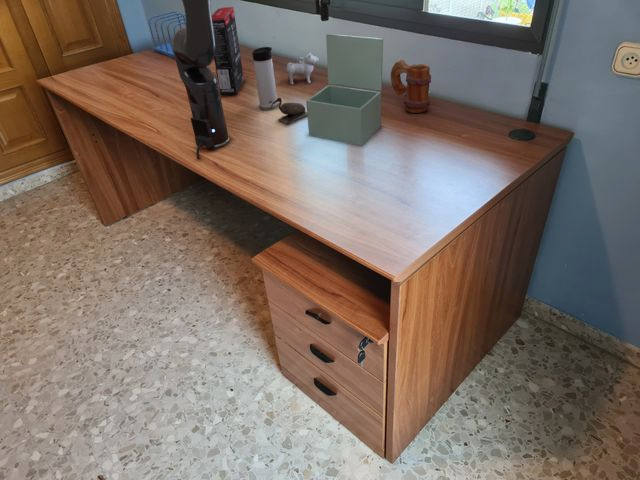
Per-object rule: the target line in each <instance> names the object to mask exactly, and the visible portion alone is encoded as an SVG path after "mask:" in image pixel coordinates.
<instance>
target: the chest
mask: <svg viewBox="0 0 640 480" xmlns="http://www.w3.org/2000/svg"><path fill="white" fill-rule="evenodd" d="M305 101H306V102H305V104H306V105H305V106H306V112H307V117H306V118H307V127H308V136H310V137H316V138H319V139H323V140H324V139H325V140H330V141H334V142H340V143H345V144H349V145H355V146H356V145H357V146H360V147H361V146H363V145H364V144H365V143H366V141H368V140H369V139H370V138H371V137H372V136H373V135H374V134H375V133H377V131H378V130H380V129H381V127H382V91H377V90H370V89H363V88H356V87H349V86H342V85H335V84H328V85H326V86H325V87H324V88H322V89H320V90H319V91H317V92H316V93H315V94H313V95H312V96H310V97H309V98H307V100H305Z"/></svg>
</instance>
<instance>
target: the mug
mask: <svg viewBox="0 0 640 480" xmlns="http://www.w3.org/2000/svg"><path fill="white" fill-rule="evenodd" d="M430 68H431V67H430V66H429V65H426V64H424V63H418V64H415V63H414V64H411V65H408V64H407V63H406V61H405V60H403V59H400V60H398V61H395V63H394V64H393V66H392V67H391V70H390V83H391V86H392V88H393V90H394V92H395V93H396V94H395V95H397V96H401V95H403V94H405V93H406V94H405V95H404V96H403V101H402V103H403V104H404V109H405V110H406V111H408V113H412V114H419V113H423V112H426V110H428V107H429V106H430V105H431V103H430V100H431V98H430V97H429V94H430V93H429V91H430V84H431V82H432V75H431V73H430V70H431V69H430ZM402 74H406V76H405V77H406V78H405V82H406V85H404V84H403V82H402V78H401V75H402Z"/></svg>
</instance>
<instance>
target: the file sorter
mask: <svg viewBox="0 0 640 480" xmlns="http://www.w3.org/2000/svg"><path fill="white" fill-rule="evenodd" d="M154 18H156V19H155V21H154V29H155V32H156V36H157V40H158V44H159V45H157V44H156V40H155V36H154V33H153V29H152V25H151V20H152V19H154ZM166 18H167V19H166ZM162 19H163V20H162ZM159 20H161V22H160V31H161V35H162V38H163V42H164V43H163V44H162V43H161V39H160V35H159V32H158V28H157V22H158V21H159ZM167 21H169V22H168V23H167V26H166V30H167V34H168V35H167V36H168V39H169V42H167V41H166V37H165V34H164V29H163V24H164V23H165V22H167ZM173 23H176V24H175V25H173V29H172V31H173V36H174V35H175V33H176V27H177V26H179V30H180V29H182V28H183V27H182V25H184V26H185V27H186V17H185V14H183V13H182V12H176V11H169V12H165V13H161V14H157V15H153V16H151V17H149V19H148V27H149V30H150V34H151V39H152V41H153V44H154V46H153V51H154V52H157V53H159V54H163V55H165V56H168V57H171V58H173V59H175V57H174V53H173V45H172V44H173V40H172V37H171V34H170V30H169V26H170V25H171V24H173Z"/></svg>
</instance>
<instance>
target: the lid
mask: <svg viewBox="0 0 640 480" xmlns="http://www.w3.org/2000/svg"><path fill="white" fill-rule="evenodd" d="M325 39H326V41H325V42H326V67H327V84H328V85H334V86H341V87H348V88H355V89H362V90H369V91H377V92H382V90H383V64H384V63H383V61H384V38H381V37H369V36H359V35H357V36H356V35H346V34H335V33H326V34H325Z"/></svg>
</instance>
